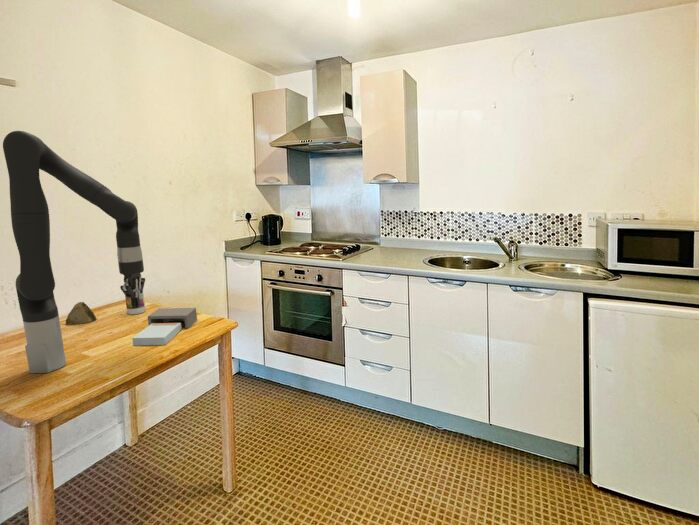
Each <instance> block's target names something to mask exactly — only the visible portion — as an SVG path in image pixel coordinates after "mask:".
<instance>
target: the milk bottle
mask: <svg viewBox="0 0 699 525" xmlns="http://www.w3.org/2000/svg"><path fill="white" fill-rule="evenodd" d="M124 297H125V305H126V313H127V314H128V315H138V314H142V313H144V312H145V311H146V303H145V302H146V301H145V294H144V291H143V292H142V293H140V296H139V300H140V307H138V308H132V304H131V298H129V297H126V296H125V295H124Z"/></svg>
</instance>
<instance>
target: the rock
mask: <svg viewBox="0 0 699 525" xmlns="http://www.w3.org/2000/svg"><path fill="white" fill-rule="evenodd" d="M97 320H98V318H97V317H96V315H95V312H94V311H92V309H91V308H90V306H88V304H86V302H84V301H78V302H77V303H76V304H74V306H73V307H72V309H71V310H70V312H68V314H67V316H66V318H65V325H76V323H80V324H87V323H92V321H93V322H96V321H97Z"/></svg>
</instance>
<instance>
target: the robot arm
mask: <svg viewBox="0 0 699 525" xmlns="http://www.w3.org/2000/svg"><path fill="white" fill-rule="evenodd" d="M2 149H3V150H2V151H3V154H4V158H5V162H6V168H7V173H8V180H9V182H8V183H9V202H10V219H11V228H12V233H13V237H14V241H15V243H16V247H17V250H18V254H19V261H20V262H19V264H20V265H19V266H20V269H19V270H20V272H19V274H18V275H17V276H16V279H15V289H16V295H17V300H18V304H19V310H20V314H21V318H22V325H23V327H24V328H23V329H24V335H25V339H26V340H25V341H26V344H25V346H24V348H25V354H26V359H27V364H28V365H27V366H28V371H29V374H49V373H52V372H54V371H56V370H58V369H61V368H63V367H65V366H66V364H67V360H66V352H65V347H64V341H63V335H62V328H61V322H60V316H59V309H58V306H57V303H56V299H55V295H54V291H55V289H56V288H55V287H56V282H55V278H54V274H53V273H54V272H53V269H52V268H53V267H52V262H51V252H50V251H51V250H50V248H51V228H50V227H51V225H50V224H51V222H50V211H49V210H50V209H49V205H48V201H47V198H46V195H45V192H44V189H43V187H42V184H41V179H40V170H41V171H42V172H44V173H47V174H48V175H50V176H52V177H54V178H55V179H56V180H57V181H59V182H60V183H62V184H63V185H64V186H66V187H67V188H68V189H70V190H71V191H73V192H74V193H75V194H77V195H78V196H79V197H81V198H83V199H84V200H86V201H87V202H89V203H91V204H92V205H94V206H96V207H97V208H99V209H100V210H101V211H102V212H104V213H105V214H106V215H108V216H109V217H111V218H112V219H113V220H115V223H116V224H115V225H116V233H115V238H116V240H115V242H116V246H117V247H116V249H117V251H116V252H117V253H116V255H117V263H118V264H117V265H118V271H119V274H120V275H123V285H120V287H119V288H120V290H121V291H122V293H123V294H124V297H125V296H126V297H129V298H131V304H132V308H138V307H140V300H139V296H140V293H142V292H143V293H144V286H145V282H146V278H145V277H142V274H141V273H143V272H144V271H145V269H144V268H145V266H144V261H143V260H144V258H143V250H142V247H141V240H140V239H141V238H140V233H139V216H138V215H139V214H138V209H137V206H136V205H135V204H134V203H133V202H131V201H128V200H125V199H123V198H121V197H120V196H118V195H117V194H115V193H114V192H113V191H112V190H110V189H109V188H108V187H107V186H106V185H104V184H103V183H101V182H100V181H98V180H96V179H94V177H92V176H90V175H89V174H86V173H85V172H84V171H82V170H80V169H78V168H76V166H73V165H72V164H70V162H67V161H66V160H65V159H63V158H62V157H61V156H59V155H58V154H57V153H56V152H55V151H53V150H52V149H51V148H50V147H49V146H48V145H47V144H46V143H44V141H43V140H42V139H41V138H39V137H38V136H36V135H35V134H32V133H30V132H27V131H24V130H14V131H11V132H9V133H8V134H6V135H5V137H4V138H3V142H2Z"/></svg>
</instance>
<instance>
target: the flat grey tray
mask: <svg viewBox="0 0 699 525" xmlns="http://www.w3.org/2000/svg"><path fill="white" fill-rule="evenodd" d="M180 330H181V331H182V322H163V323H162V322H160V323H152V324H151V325H148V326H146V327H145V328H144V329H142V330H141V331H139V333H137V334H135V335H134V336H133V337H132V338H131V339H132V346H137V347H138V346H165V345H168V343H169V342H170V341H171V340H172V339H173V338H175V337H176V336H177V335H176V334H177V333H178V332H179V331H180ZM181 331H180V332H181ZM180 332H179V333H180ZM179 333H178V334H179Z"/></svg>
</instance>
